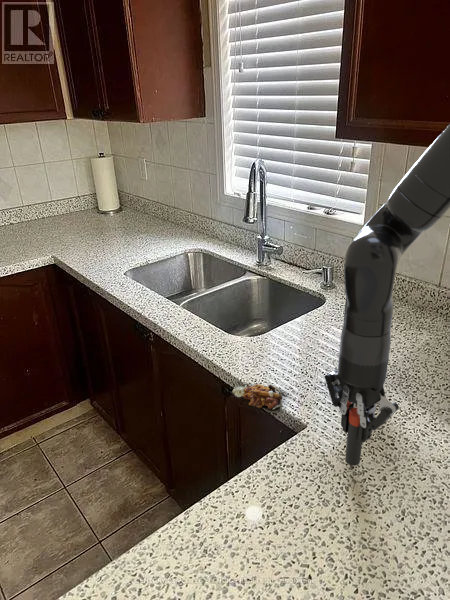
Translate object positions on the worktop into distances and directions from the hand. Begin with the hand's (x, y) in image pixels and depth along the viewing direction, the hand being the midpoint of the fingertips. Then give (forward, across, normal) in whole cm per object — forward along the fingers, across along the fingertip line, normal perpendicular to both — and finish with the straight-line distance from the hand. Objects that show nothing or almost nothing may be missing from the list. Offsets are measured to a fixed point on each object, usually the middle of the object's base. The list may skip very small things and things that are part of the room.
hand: (355, 434), depth 78 cm
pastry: (+8, +26, 0) cm, 28 cm away
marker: (+6, 0, 0) cm, 6 cm away
